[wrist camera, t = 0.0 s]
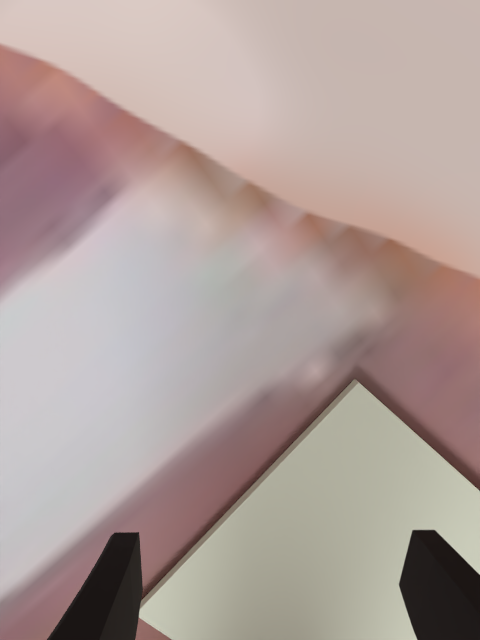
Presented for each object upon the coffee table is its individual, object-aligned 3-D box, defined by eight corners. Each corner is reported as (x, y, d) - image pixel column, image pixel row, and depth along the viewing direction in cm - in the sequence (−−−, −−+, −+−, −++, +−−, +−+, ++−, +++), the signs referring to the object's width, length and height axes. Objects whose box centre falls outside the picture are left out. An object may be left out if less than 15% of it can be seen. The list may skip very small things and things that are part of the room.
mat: (355, 752, 25) (358, 764, 25) (137, 605, 23) (134, 614, 22) (562, 565, 24) (571, 573, 23) (354, 378, 21) (358, 382, 20)
